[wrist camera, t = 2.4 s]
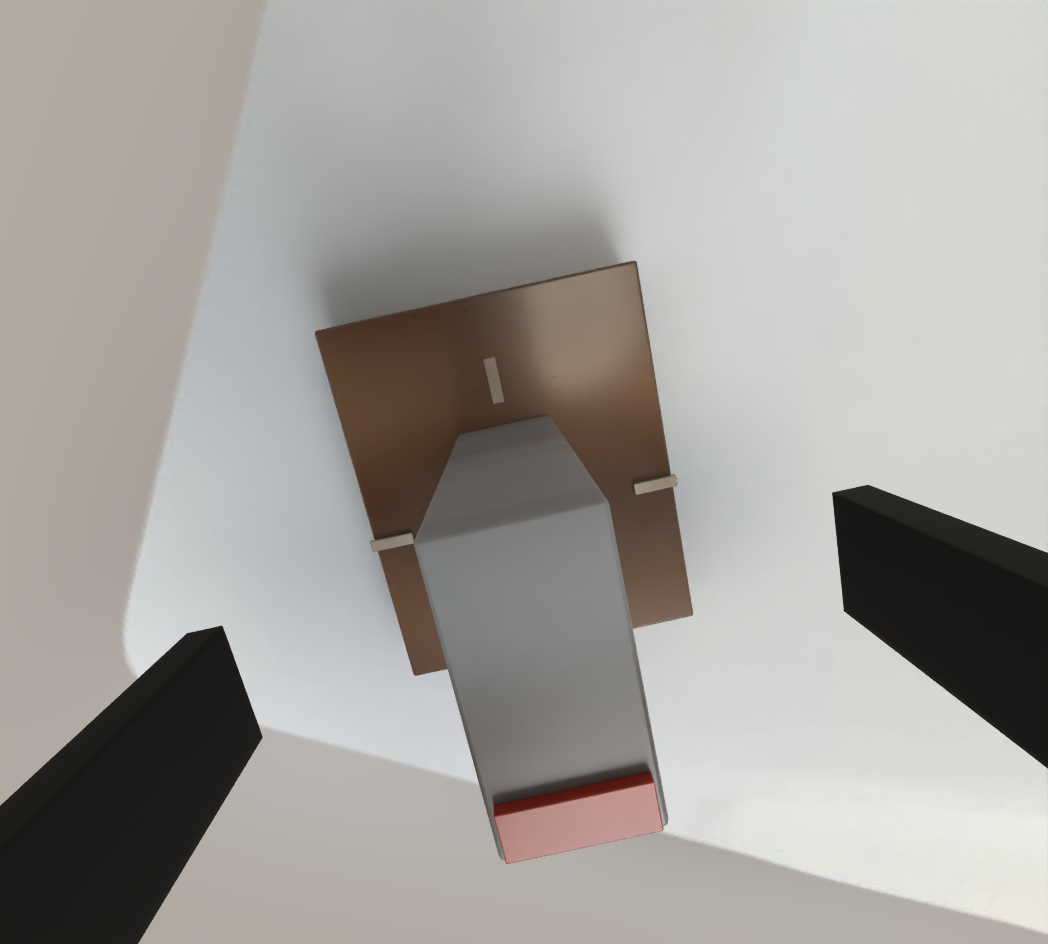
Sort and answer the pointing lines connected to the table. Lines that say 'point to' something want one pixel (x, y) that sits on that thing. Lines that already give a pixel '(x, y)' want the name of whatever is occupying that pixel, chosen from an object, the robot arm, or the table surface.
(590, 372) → the panel
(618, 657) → the grey slab
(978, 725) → the table surface
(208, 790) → the robot arm
